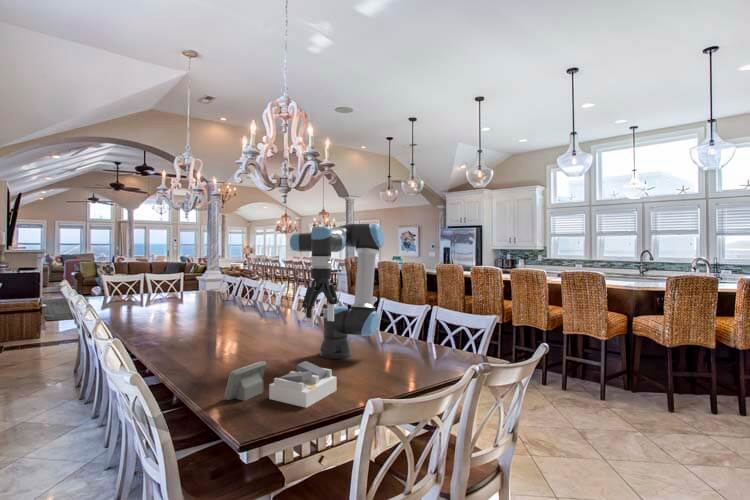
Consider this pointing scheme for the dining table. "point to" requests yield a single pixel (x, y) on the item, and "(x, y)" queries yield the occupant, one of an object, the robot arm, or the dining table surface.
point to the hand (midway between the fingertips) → (320, 323)
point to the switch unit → (303, 389)
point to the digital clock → (245, 382)
